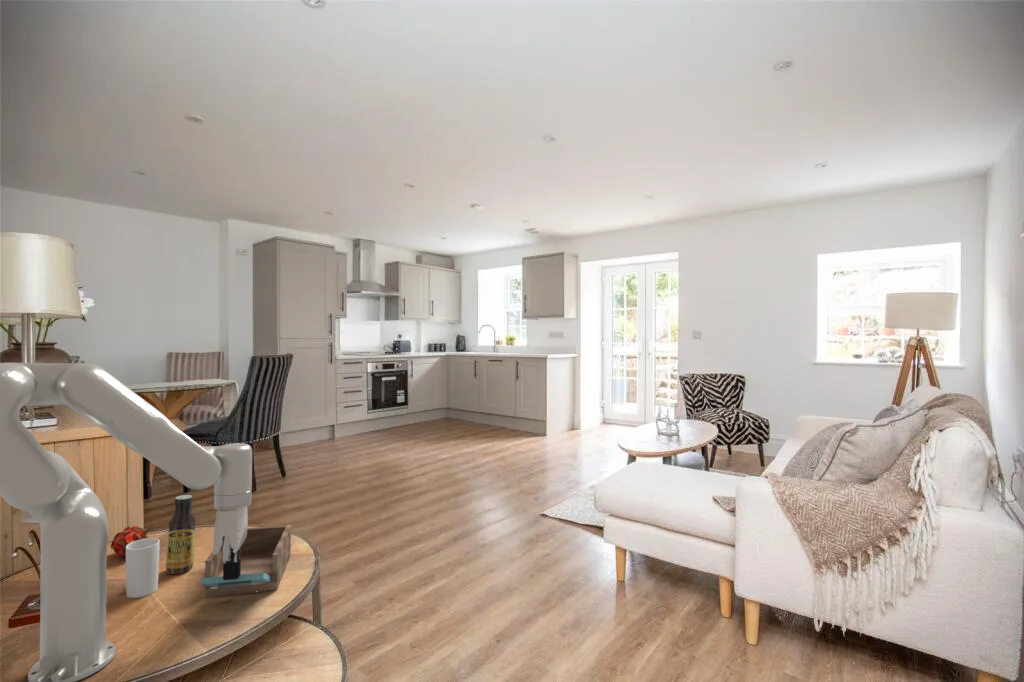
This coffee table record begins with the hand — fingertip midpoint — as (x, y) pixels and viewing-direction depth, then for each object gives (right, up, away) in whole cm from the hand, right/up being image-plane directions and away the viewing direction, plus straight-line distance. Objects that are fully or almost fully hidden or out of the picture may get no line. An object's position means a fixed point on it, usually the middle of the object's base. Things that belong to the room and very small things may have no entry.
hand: (231, 577), depth 115 cm
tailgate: (-2, -6, +9) cm, 11 cm away
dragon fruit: (-45, -7, +28) cm, 54 cm away
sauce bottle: (-25, -8, +20) cm, 33 cm away
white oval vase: (-28, -8, +10) cm, 31 cm away
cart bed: (-5, -8, +18) cm, 21 cm away
